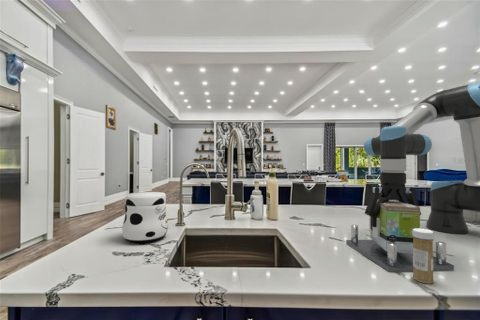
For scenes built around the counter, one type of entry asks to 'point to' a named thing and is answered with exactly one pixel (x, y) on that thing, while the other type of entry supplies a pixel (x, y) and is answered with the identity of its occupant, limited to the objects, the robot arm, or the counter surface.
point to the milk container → (145, 216)
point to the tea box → (397, 225)
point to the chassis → (395, 254)
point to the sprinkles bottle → (423, 255)
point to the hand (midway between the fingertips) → (392, 236)
